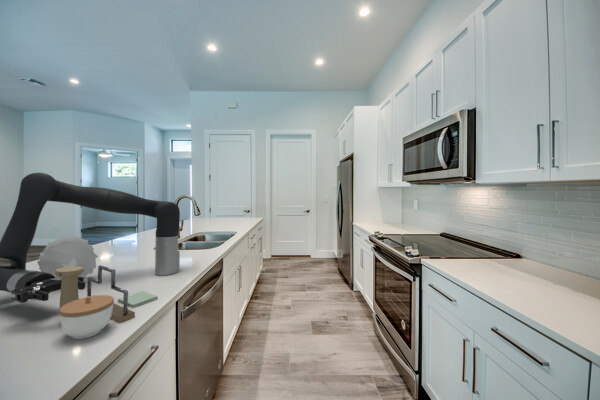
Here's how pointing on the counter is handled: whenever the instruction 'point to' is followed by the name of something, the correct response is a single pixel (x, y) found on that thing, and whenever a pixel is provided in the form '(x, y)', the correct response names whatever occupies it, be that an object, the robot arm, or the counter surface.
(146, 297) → the green pad
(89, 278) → the bent wire
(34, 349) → the counter surface
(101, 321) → the lidded jar
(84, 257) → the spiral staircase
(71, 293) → the handle
